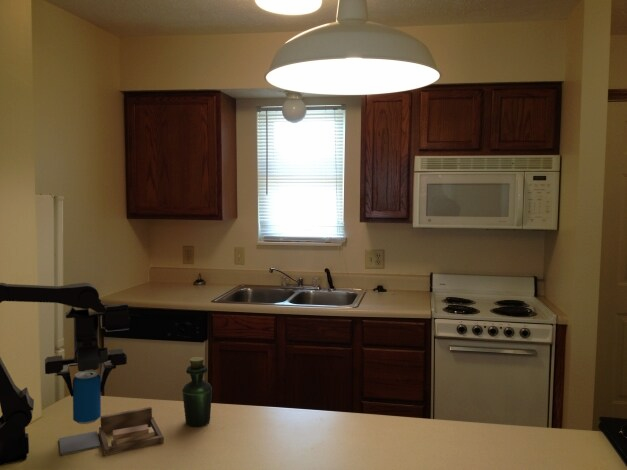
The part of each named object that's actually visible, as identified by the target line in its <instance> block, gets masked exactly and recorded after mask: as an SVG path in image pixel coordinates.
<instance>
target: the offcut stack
mask: <svg viewBox="0 0 627 470" xmlns="http://www.w3.org/2000/svg"><path fill="white" fill-rule="evenodd" d="M151 437H156V435H155V433H154V430H153V429H152V427H151V426H150V427H149V425H141V426H135V427H129V428H124V429H118V430H113V432H112V439H111V440H110V446H114V445H118V444H123V443H128V442H132V441H137V440H142V439H146V438H151Z"/></svg>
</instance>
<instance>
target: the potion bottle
mask: <svg viewBox="0 0 627 470" xmlns="http://www.w3.org/2000/svg"><path fill="white" fill-rule="evenodd" d="M204 360H205V358H204V357H202V356H193V357H191V358H189V362H190V365H189V366H187V368H186V369H185V370H186V374H188V375H189V376H190V378H191V381H190V382H188V383H186V384H184V387H183V388H182V390H181V392H182V393H181V394H182V400H183V401H182V402H183V411H184V417H185V423H186V425H187V426H189V427H192V428H200V427H204V426H206V425H207V424H209V423H210V421H211V412H212V411H211V408H212V398H213V397H212V396H213V387H212V385H211V383H210V382H207V381H205V380H203V378H204V376H205V375H204V374H205V373H207V372H208V370H209V369H208V367H207V365H206V364H204Z"/></svg>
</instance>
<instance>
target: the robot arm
mask: <svg viewBox="0 0 627 470" xmlns="http://www.w3.org/2000/svg"><path fill="white" fill-rule="evenodd" d="M3 302H17V303H18V302H20V303H21V302H22V303H47V304H48V303H51V304H52V303H53V304H56V303H57V304H60V305H64V306H68V307H70V309H69V310H68V311H67V312H65V315H64V316H65V318H66V319H73V358H72V357H71V358H64V359H63V355H53V356H46V358H45V359H44V375H45V374H46V375H50V374H51V375H53V374H56V376H57V377H59V376H61V377H62V378H63V380H64V382H65V384H66V387H67V390H68V392H69V394H70V397H72V398H73V381H72V378H71V371H70V367H75V366H77V370H78V372H82V371H88V370H94V371H97V370H98V369H100V365H101V371H100V377H101V393H103V391H104V389H105V385H106V382H107V380H108V377H109V375H110V373H111V372H112V370H115V369H117V366H125V365H126V364H128V362H127V360H128V357H127V353H126V352H125V350H124V349H123V348H116V349H109V350H108V347H106V346H105V347H100V346H99V317H100V328H101V329H104V330H105V332H106V333H108V332H115V331H116V332H119V331H127V330H130V328H131V318H130V312H129V305H128V303H120V304H112V305H111V304H110V305H106V304H105V302H104V301H103V300H101V299H100V293H99V292H98V289H97V288H96V287H95V286H94V284H92V283H90V282H79V283H77V282H76V283H71V284H66V285H59V286H57V285H56V286H55V285H38V284H35V285H34V284H17V283H16V284H13V283H6V282H5V283H4V282H0V304H1V303H3ZM76 308H77V309H76ZM89 310H93V311H89ZM1 357H2V356H0V410H1V411H0V412H1V414H2V415H0V466H1V465H7V464H12V463H16V462H22V461H25V460H27V457H28V455H29V453H30V445H29V444H30V441H29V439H30V438H29V437H30V436H29V433H28V432H26V427H28V426H29V425H30V424H31V422H32V419H33V411H34V406H35V403H34V402H35V399H34V398H33V397H31V395H30V394H29V393H30V392H29V390H28V387H24V388H22V389H20V388H19V387H18V386H17V385H16V384H15V382H14V380H13V378H12V376H11V374H10V373H9V371H8V369H7V367H6V365H5V363H4V361H3V360H2V359H3V358H1Z"/></svg>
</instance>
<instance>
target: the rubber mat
mask: <svg viewBox="0 0 627 470" xmlns="http://www.w3.org/2000/svg"><path fill="white" fill-rule="evenodd" d="M58 441H59V451H60V456H64V455H68V454H74V453H78V452H79V453H80V452H83V451H87V450H93V449H98V448H101V446H102V445H101V442H100V441H101V440H100V437H99V433H98V431H97V430H93V431H90V432H84V433H79V434H74V435H70V436H69V435H68V436H63V437H59V438H58Z"/></svg>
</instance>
